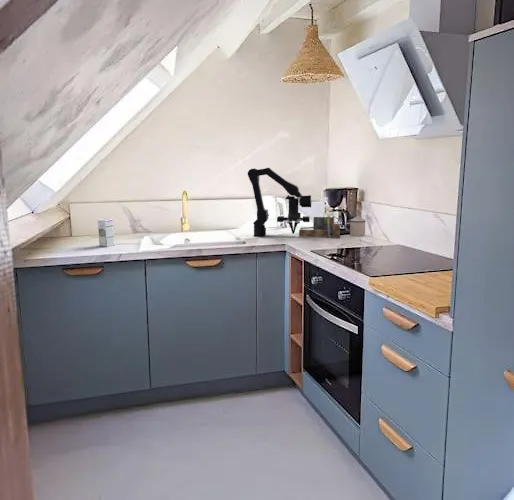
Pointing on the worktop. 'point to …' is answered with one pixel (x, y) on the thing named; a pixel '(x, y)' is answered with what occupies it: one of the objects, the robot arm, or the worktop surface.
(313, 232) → the walnut bar
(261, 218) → the robot arm
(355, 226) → the teacup with lid
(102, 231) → the syrup box
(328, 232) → the gauge paddle
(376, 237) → the worktop surface
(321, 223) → the gauge housing
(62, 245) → the worktop surface
